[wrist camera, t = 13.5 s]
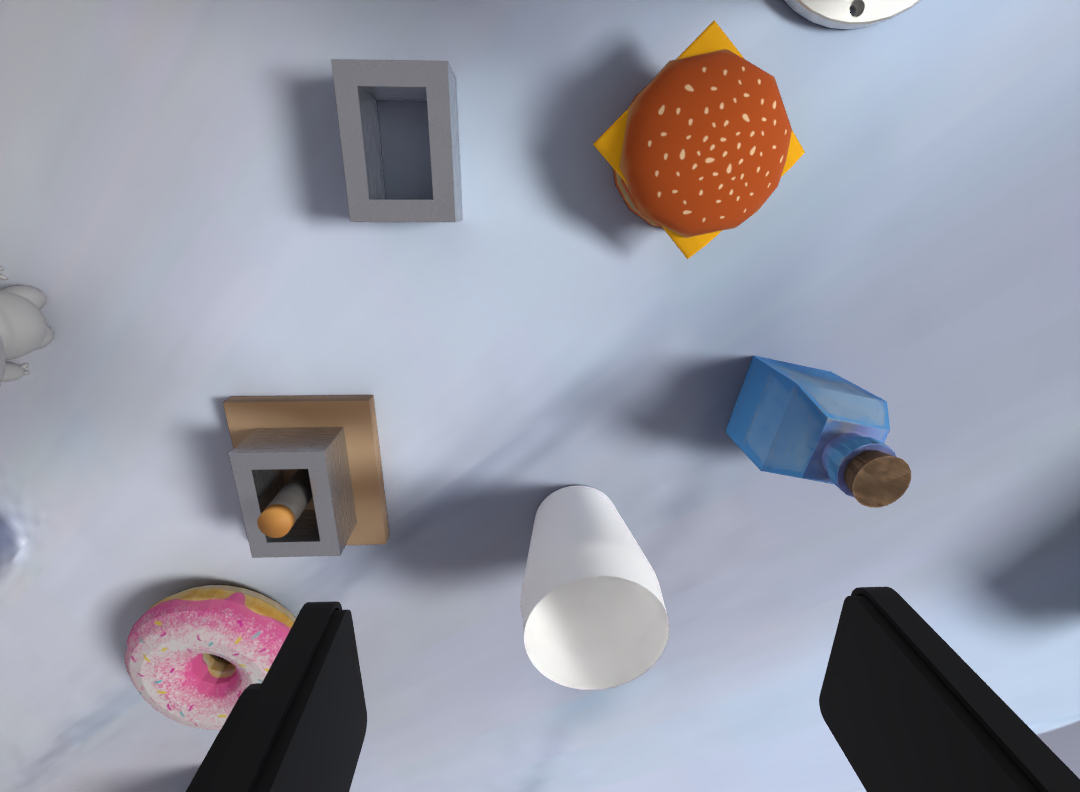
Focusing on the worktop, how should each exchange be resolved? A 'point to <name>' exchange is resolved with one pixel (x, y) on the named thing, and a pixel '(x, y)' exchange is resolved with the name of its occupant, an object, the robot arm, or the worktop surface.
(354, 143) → the grey hollow block
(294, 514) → the keeper
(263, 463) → the link
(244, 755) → the robot arm
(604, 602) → the cup
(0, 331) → the figurine
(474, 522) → the worktop surface
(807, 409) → the perfume bottle
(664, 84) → the hamburger
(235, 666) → the donut
